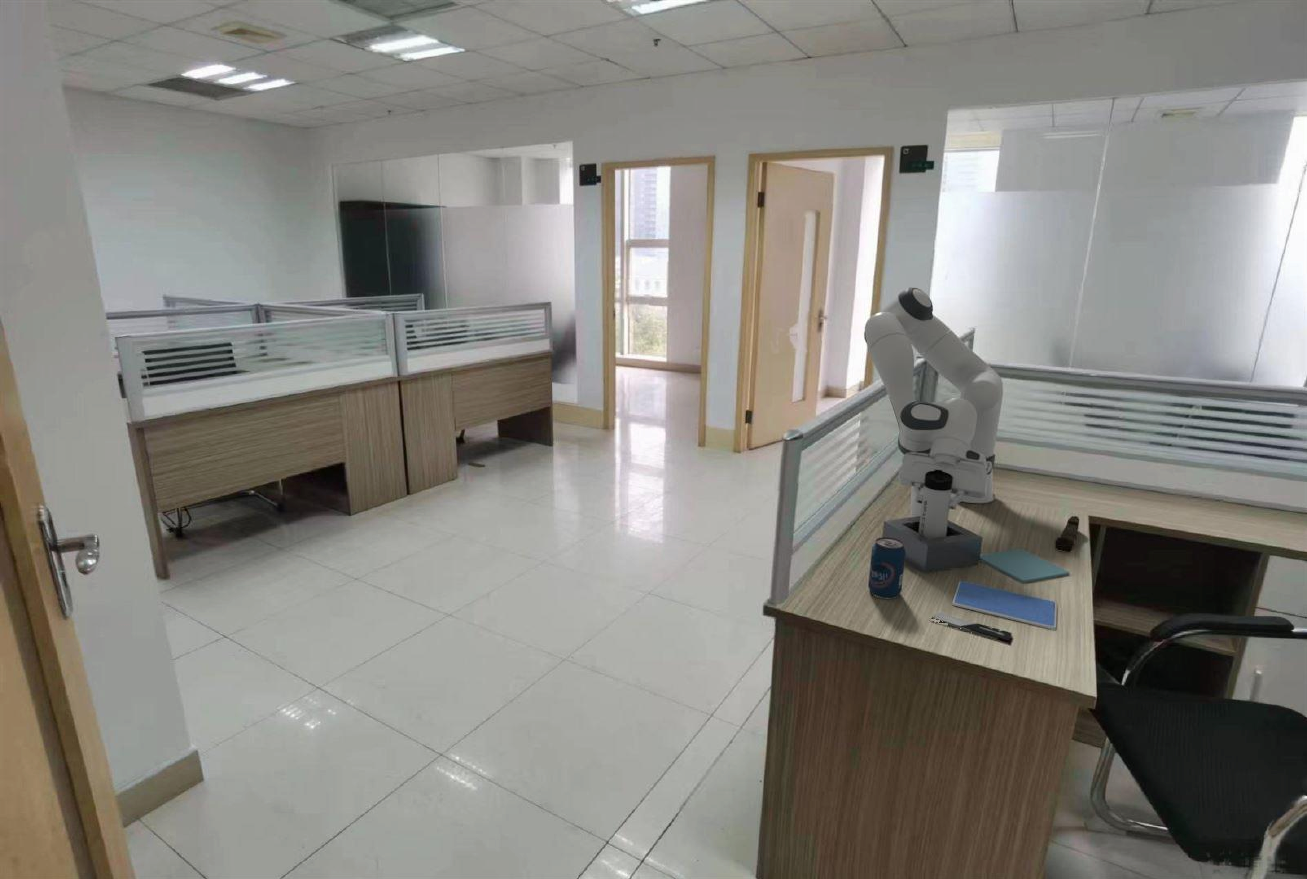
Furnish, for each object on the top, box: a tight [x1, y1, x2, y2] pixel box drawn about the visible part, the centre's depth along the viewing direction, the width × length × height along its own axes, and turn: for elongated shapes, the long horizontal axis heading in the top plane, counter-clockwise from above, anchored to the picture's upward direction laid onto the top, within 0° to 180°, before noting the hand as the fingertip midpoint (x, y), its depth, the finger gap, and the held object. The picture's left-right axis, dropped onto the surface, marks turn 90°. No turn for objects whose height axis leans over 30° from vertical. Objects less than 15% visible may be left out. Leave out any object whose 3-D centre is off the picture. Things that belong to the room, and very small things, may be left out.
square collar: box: [881, 516, 983, 574], centre depth 168 cm, size 16×16×7 cm
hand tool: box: [1054, 515, 1080, 553], centre depth 178 cm, size 19×4×5 cm, turn 140°
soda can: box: [868, 537, 906, 599], centre depth 148 cm, size 7×7×12 cm
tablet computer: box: [951, 580, 1058, 631], centre depth 145 cm, size 19×13×1 cm, turn 60°
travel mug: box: [919, 470, 953, 539], centre depth 166 cm, size 6×7×20 cm
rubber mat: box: [979, 548, 1070, 584], centre depth 163 cm, size 14×14×1 cm
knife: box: [930, 612, 1014, 646], centre depth 136 cm, size 15×1×4 cm
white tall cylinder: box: [909, 486, 924, 518], centre depth 190 cm, size 7×7×15 cm
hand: (935, 505), depth 165 cm, fingers closed on travel mug, 6 cm apart
